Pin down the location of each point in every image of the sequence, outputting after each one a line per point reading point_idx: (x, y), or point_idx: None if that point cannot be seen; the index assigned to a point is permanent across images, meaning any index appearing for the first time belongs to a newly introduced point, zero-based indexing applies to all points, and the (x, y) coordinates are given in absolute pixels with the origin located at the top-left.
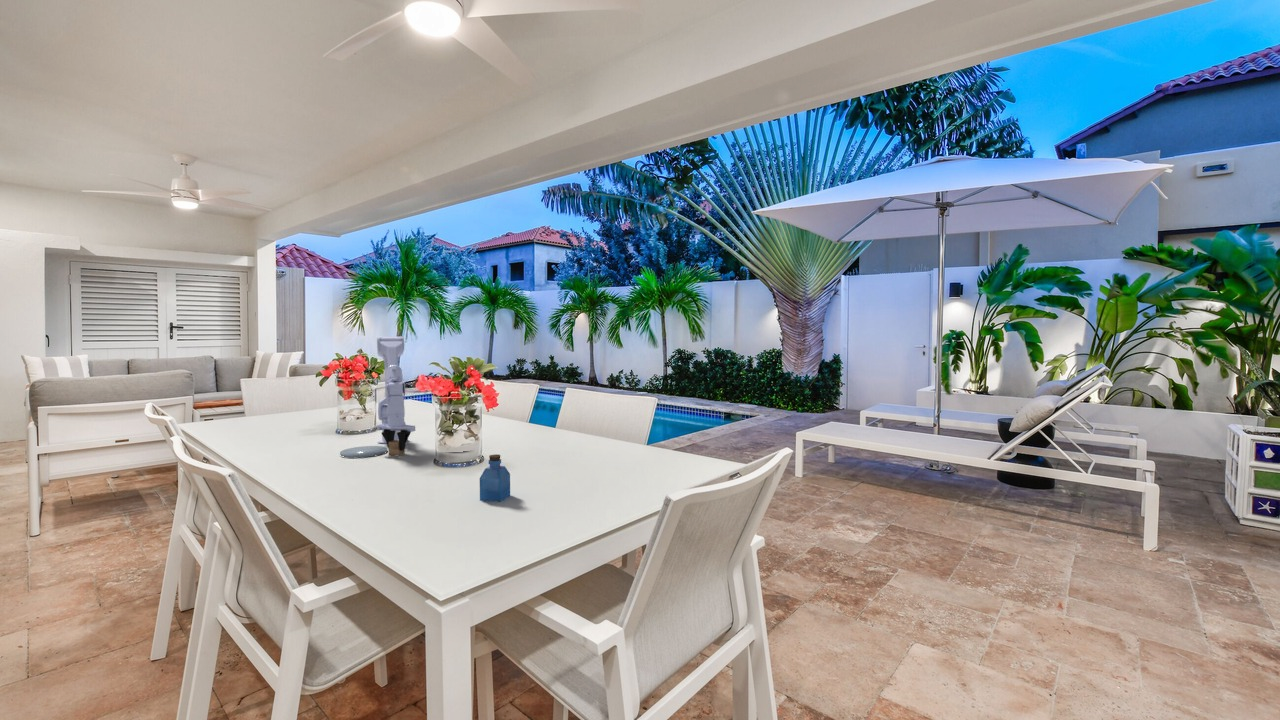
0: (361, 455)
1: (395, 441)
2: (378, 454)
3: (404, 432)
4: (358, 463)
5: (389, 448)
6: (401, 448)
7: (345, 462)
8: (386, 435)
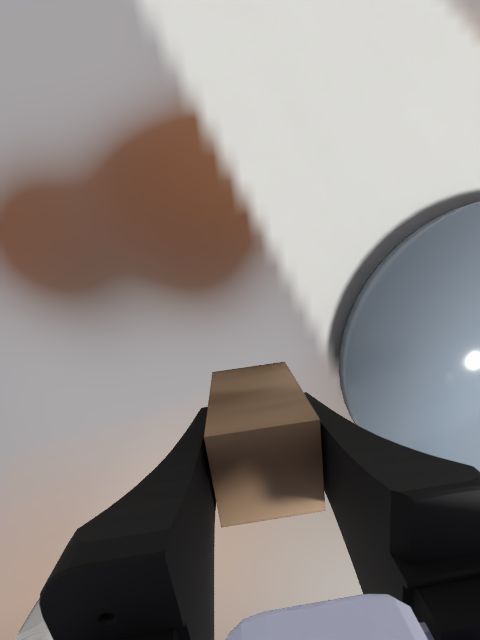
0: (424, 230)
1: (263, 458)
2: (347, 334)
3: (43, 614)
4: (316, 65)
5: (290, 386)
6: (195, 417)
7: (439, 60)
8: (379, 470)
